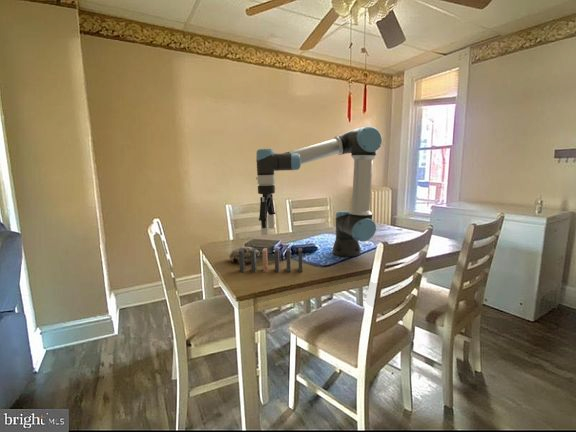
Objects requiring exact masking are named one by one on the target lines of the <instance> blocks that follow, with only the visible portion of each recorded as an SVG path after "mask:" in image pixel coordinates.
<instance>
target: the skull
mask: <svg viewBox="0 0 576 432" xmlns="http://www.w3.org/2000/svg"><path fill="white" fill-rule="evenodd" d="M241 248H244V254H245V264H251V250H252V248H253V247H252V246H241V247H237V248H235V249H233V250H232V251H231V253H230V254H229V256H228V257H229V259H230V261H231V262H232V263H235V264H239V250H240V249H241ZM260 254H261V253H260V251H259V250H258V249H257V248H256V259H258V257H259V256H260Z"/></svg>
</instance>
